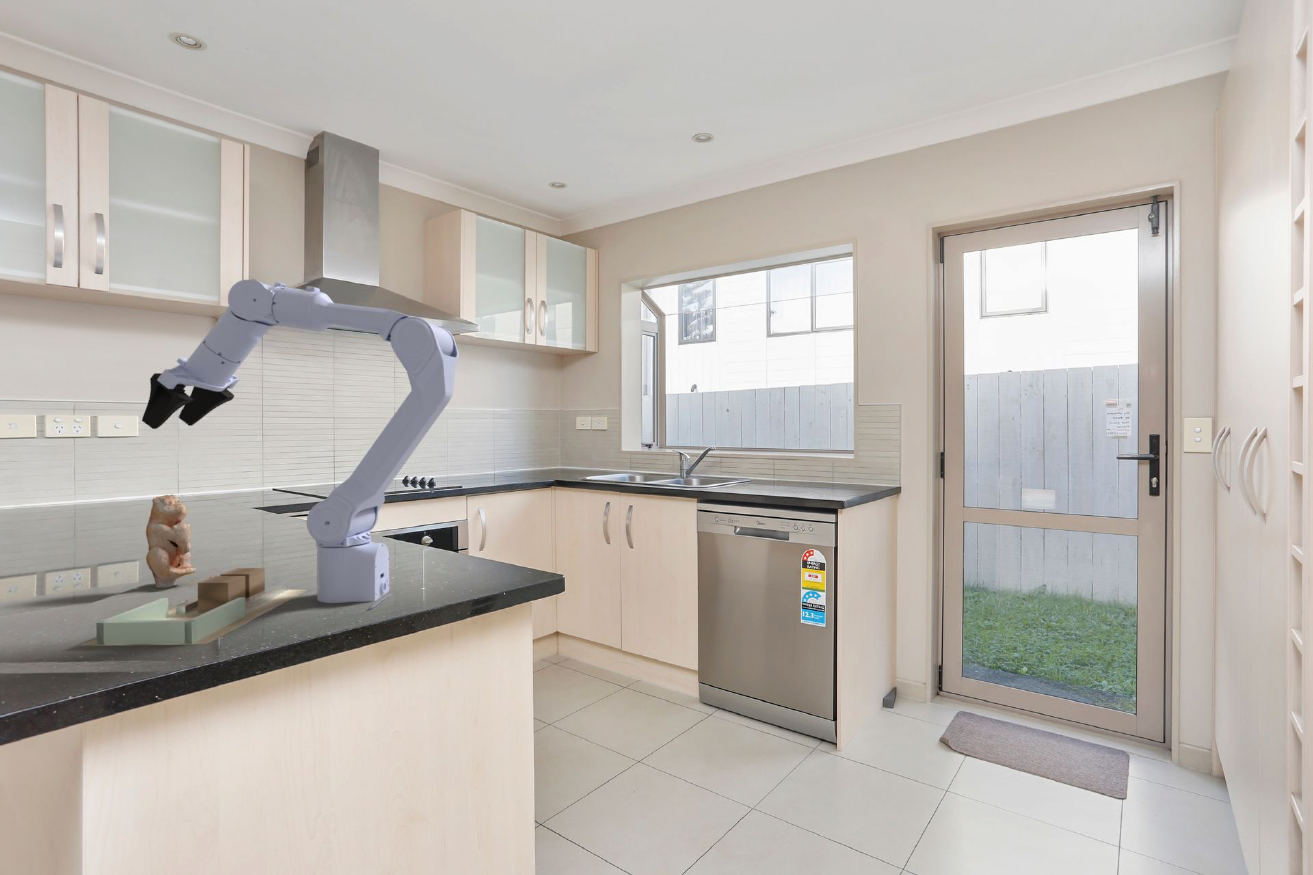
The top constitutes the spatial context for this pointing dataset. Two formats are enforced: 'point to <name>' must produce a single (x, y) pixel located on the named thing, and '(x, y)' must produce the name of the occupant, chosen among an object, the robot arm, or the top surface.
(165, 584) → the figurine
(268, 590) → the slot rails
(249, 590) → the brown wooden block
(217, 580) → the chip
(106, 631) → the tray
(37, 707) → the top surface
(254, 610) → the slot board
